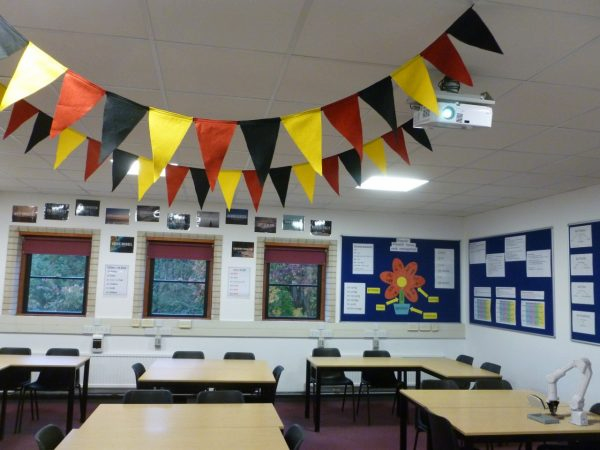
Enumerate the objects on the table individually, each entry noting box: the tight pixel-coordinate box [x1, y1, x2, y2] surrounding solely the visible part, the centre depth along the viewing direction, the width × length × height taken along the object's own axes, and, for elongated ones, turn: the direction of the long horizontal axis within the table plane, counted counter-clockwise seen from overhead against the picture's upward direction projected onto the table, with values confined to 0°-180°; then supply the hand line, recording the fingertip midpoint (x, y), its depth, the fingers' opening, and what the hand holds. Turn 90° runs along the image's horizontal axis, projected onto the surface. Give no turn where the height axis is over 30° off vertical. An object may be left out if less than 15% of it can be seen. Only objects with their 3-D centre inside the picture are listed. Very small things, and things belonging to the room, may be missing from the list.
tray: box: [526, 412, 560, 425], centre depth 330 cm, size 16×12×2 cm
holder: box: [544, 412, 565, 421], centre depth 337 cm, size 9×9×2 cm
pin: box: [550, 406, 557, 416], centre depth 338 cm, size 4×4×7 cm
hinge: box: [526, 393, 549, 410], centre depth 370 cm, size 17×5×10 cm, turn 10°
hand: (553, 412), depth 338 cm, fingers closed on pin, 4 cm apart
